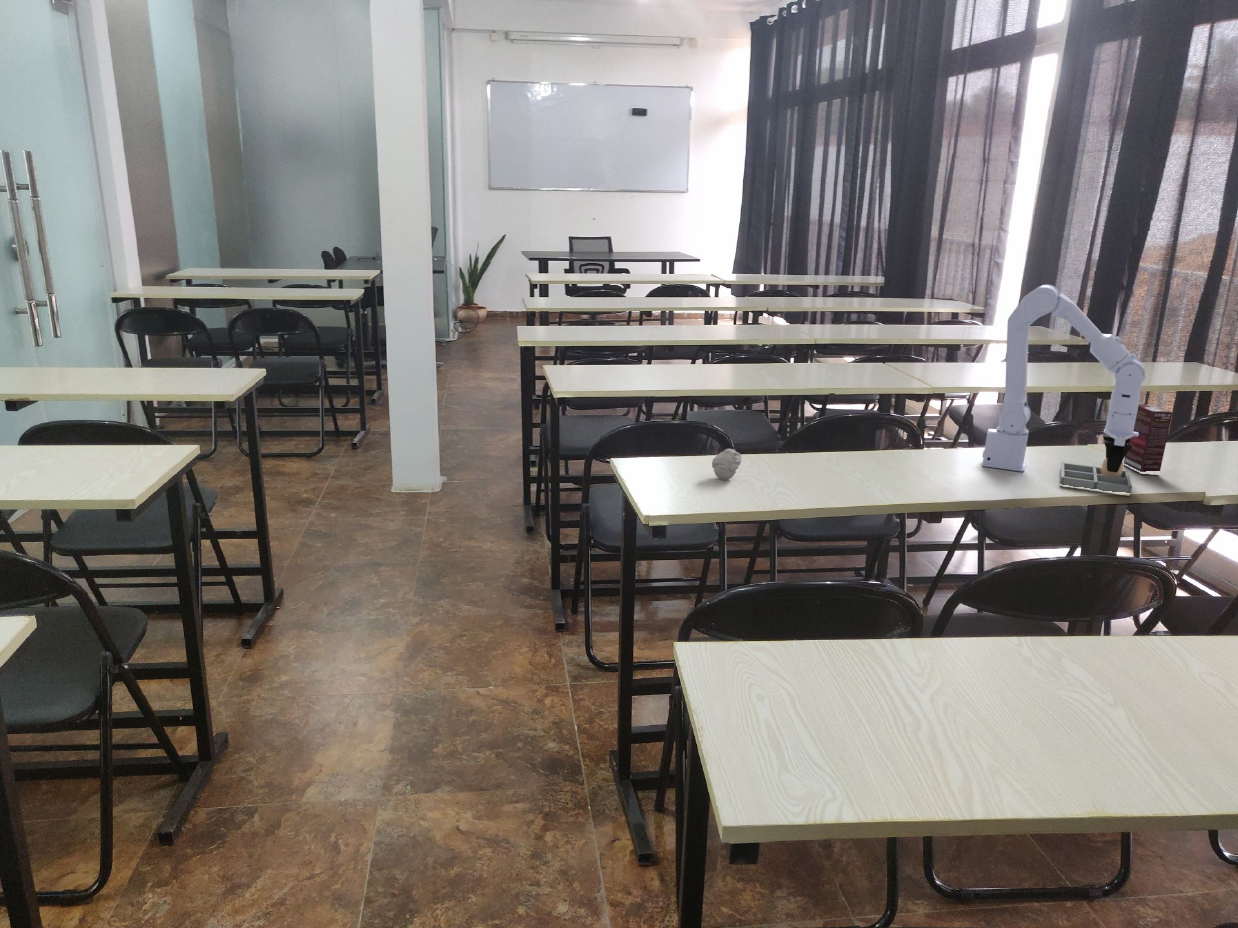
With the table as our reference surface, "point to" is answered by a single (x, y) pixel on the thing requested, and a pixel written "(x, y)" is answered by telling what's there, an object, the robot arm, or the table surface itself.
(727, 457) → the grey rounded lump
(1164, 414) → the supplement box
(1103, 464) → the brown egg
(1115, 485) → the gray divided compartment tray
